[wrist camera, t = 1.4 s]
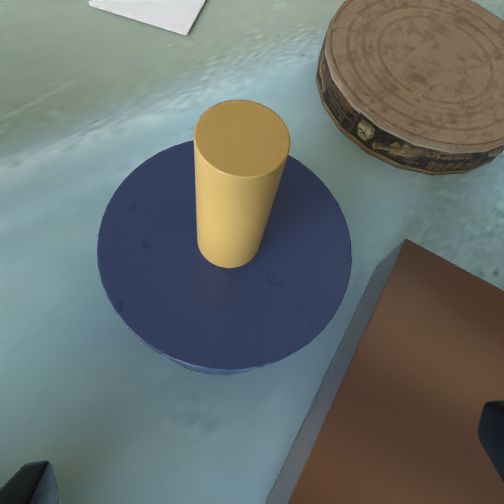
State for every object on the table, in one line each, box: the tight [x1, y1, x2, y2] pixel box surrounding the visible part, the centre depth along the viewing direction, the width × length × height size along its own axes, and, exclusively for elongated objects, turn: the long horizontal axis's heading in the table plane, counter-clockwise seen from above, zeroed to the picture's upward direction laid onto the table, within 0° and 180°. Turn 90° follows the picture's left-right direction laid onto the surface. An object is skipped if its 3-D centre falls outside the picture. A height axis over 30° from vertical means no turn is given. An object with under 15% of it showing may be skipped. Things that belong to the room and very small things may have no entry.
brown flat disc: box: [316, 0, 504, 175], centre depth 30 cm, size 16×16×3 cm
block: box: [265, 239, 504, 504], centre depth 19 cm, size 17×13×4 cm
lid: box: [97, 100, 352, 371], centre depth 15 cm, size 11×11×8 cm
